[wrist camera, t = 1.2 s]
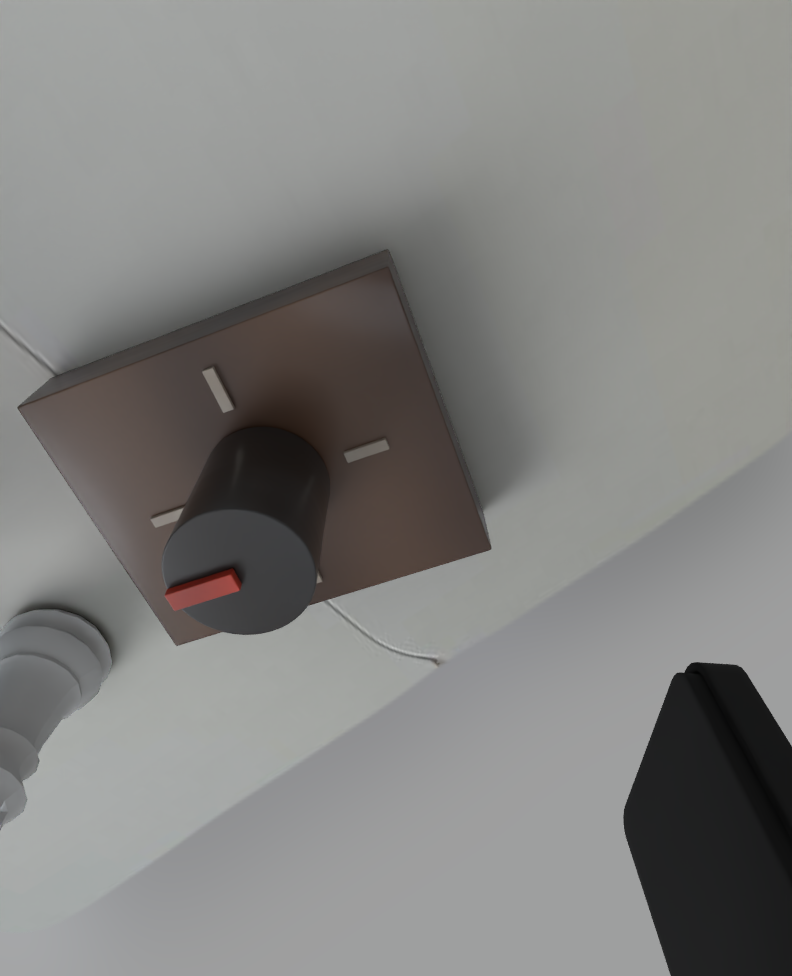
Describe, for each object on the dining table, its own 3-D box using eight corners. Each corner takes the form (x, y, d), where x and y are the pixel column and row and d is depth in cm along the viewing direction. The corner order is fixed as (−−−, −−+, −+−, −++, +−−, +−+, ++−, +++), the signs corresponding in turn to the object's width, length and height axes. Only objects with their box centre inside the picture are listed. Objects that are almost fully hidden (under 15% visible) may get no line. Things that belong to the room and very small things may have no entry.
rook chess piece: (93, 594, 28) (-4, 760, 21) (131, 679, 31) (55, 855, 24) (-16, 610, 29) (-146, 778, 22) (30, 693, 31) (-75, 870, 24)
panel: (388, 248, 22) (388, 267, 20) (483, 512, 27) (492, 552, 24) (49, 378, 24) (13, 409, 22) (192, 604, 29) (174, 650, 26)
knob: (299, 408, 22) (275, 494, 17) (349, 514, 24) (339, 618, 19) (181, 450, 23) (128, 543, 18) (238, 551, 24) (203, 659, 20)
